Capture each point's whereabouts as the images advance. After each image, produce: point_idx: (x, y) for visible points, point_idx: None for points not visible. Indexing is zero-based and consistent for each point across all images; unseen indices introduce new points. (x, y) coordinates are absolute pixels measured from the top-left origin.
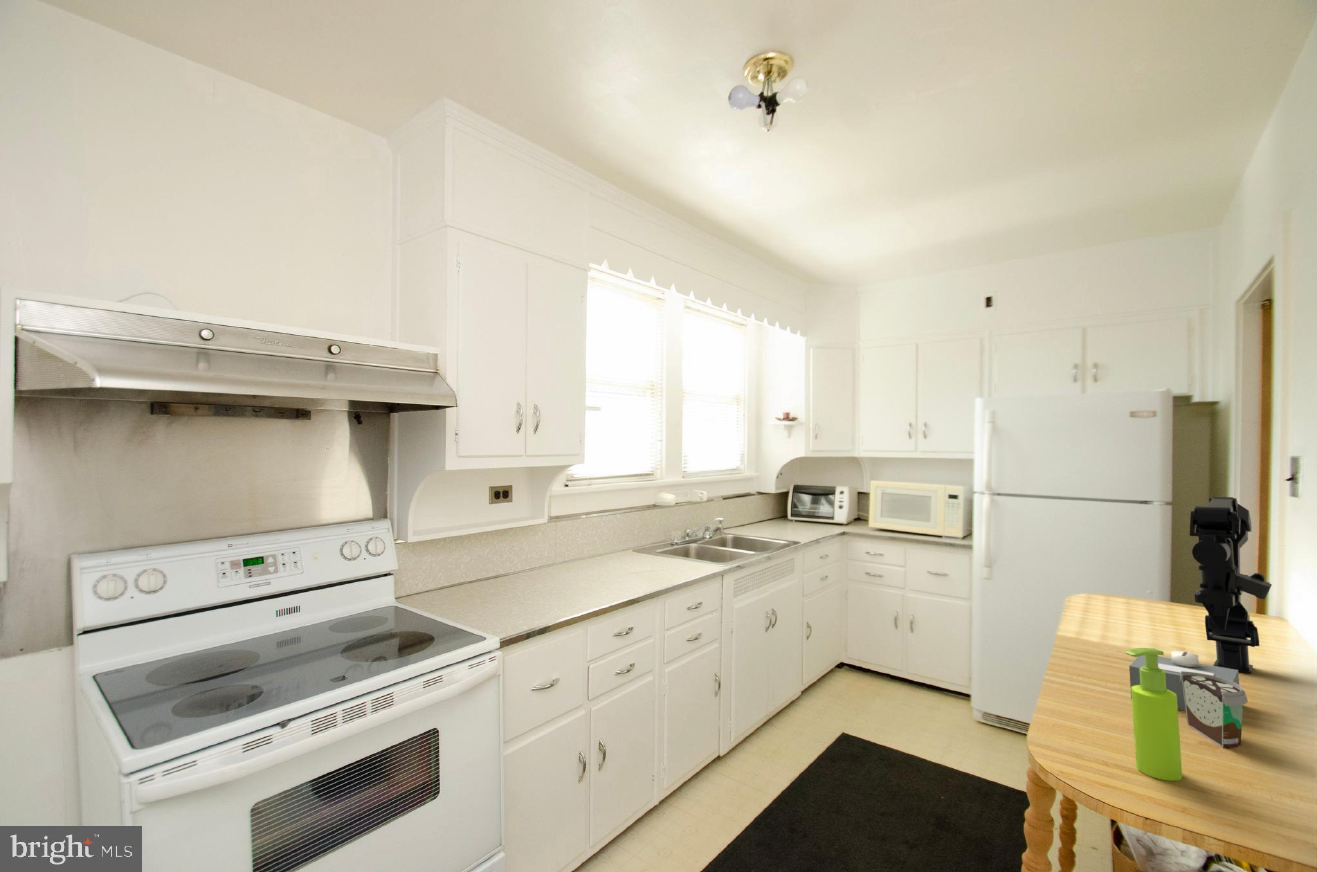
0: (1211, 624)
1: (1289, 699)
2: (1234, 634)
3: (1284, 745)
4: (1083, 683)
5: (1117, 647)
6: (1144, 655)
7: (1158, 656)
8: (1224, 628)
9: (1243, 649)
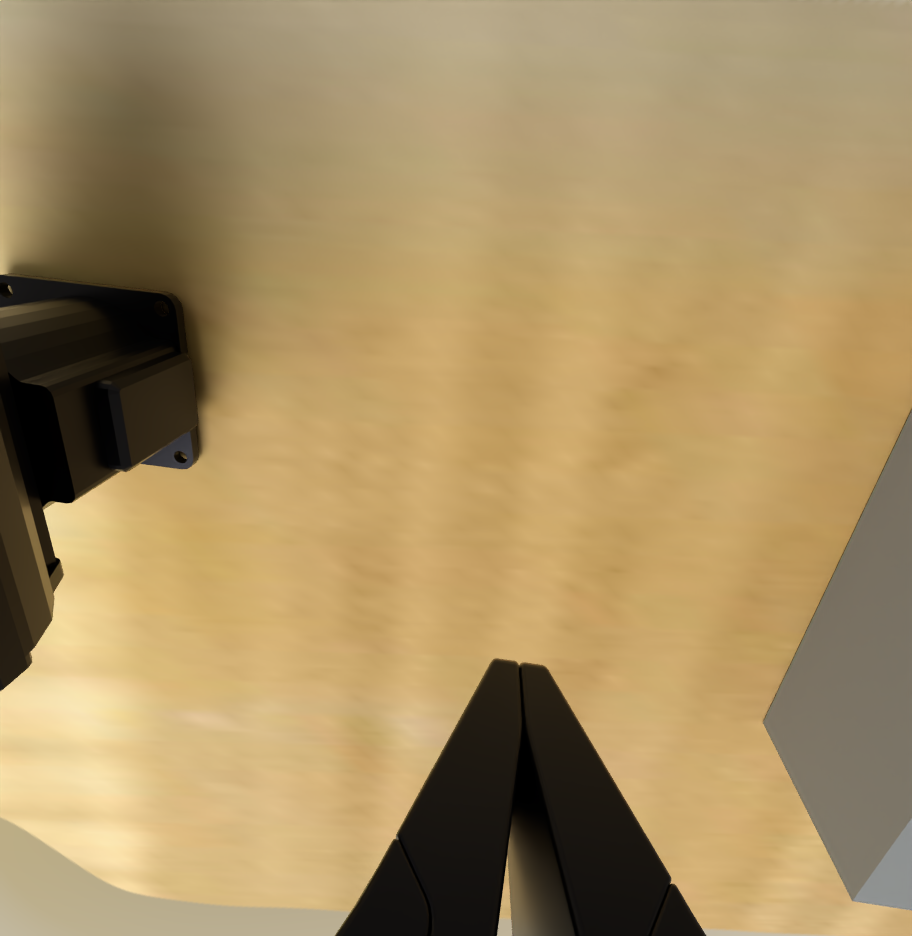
0: (7, 667)
1: (657, 96)
2: (13, 461)
3: None
4: None
5: (173, 779)
6: (906, 893)
7: (897, 844)
8: (554, 689)
9: (28, 351)
